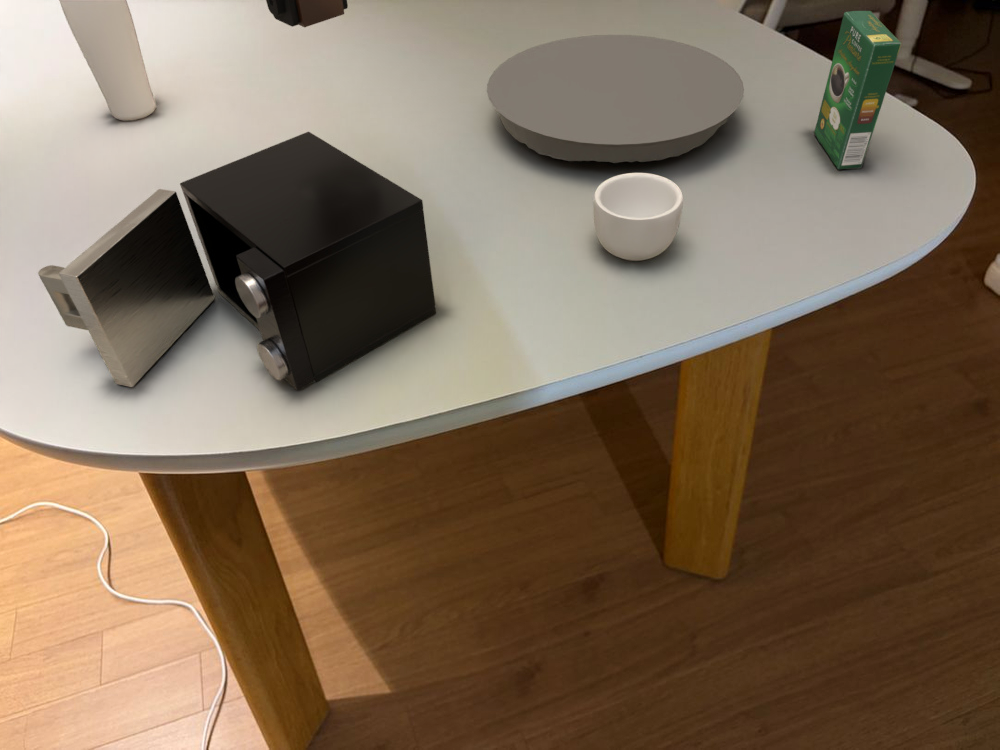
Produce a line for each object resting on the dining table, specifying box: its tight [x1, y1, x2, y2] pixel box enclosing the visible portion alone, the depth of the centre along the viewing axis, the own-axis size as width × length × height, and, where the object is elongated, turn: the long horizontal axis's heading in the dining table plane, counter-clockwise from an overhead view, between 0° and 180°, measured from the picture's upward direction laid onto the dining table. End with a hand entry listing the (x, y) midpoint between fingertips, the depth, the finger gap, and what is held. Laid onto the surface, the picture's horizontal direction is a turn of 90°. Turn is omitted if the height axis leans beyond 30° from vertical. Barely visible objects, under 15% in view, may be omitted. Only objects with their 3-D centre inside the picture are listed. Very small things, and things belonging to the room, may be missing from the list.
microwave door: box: [37, 188, 215, 388], centre depth 63 cm, size 7×12×11 cm, turn 162°
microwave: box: [179, 131, 437, 391], centre depth 65 cm, size 14×16×11 cm
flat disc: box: [486, 34, 745, 164], centre depth 90 cm, size 28×28×4 cm
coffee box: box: [813, 10, 902, 170], centre depth 80 cm, size 8×3×13 cm, turn 2°
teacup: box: [592, 172, 684, 262], centre depth 72 cm, size 10×8×5 cm
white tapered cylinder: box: [58, 0, 157, 122], centre depth 93 cm, size 7×7×15 cm
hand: (310, 11), depth 67 cm, fingers closed on block, 4 cm apart
